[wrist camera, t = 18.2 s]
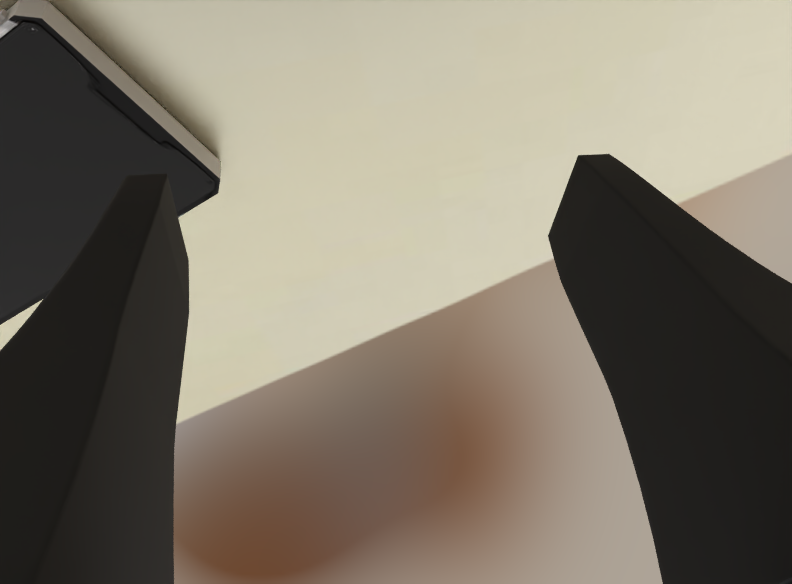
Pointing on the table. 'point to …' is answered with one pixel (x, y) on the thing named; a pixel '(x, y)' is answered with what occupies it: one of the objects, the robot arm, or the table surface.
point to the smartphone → (74, 148)
